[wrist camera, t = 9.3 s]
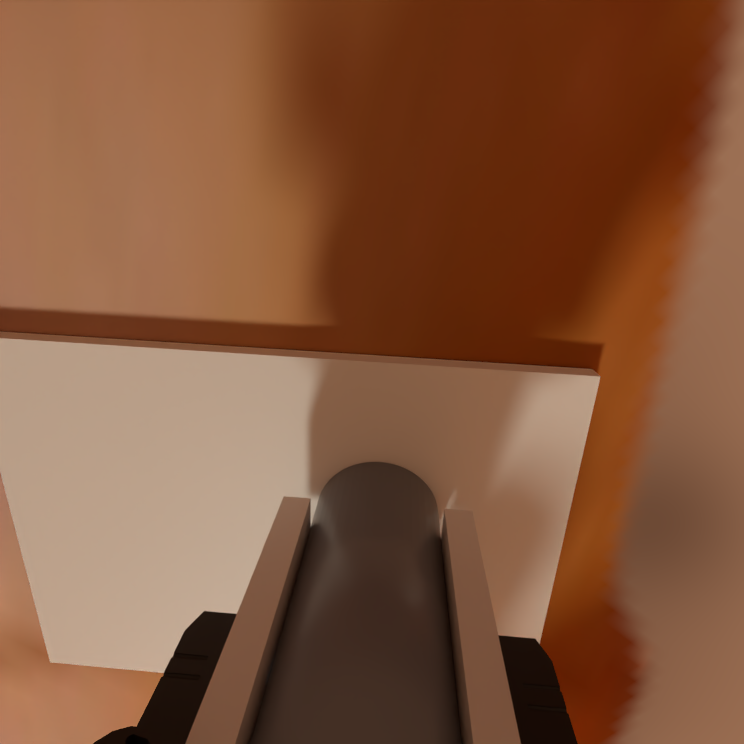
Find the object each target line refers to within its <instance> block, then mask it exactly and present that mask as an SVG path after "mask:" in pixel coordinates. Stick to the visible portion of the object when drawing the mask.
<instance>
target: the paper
mask: <svg viewBox="0 0 744 744" xmlns="http://www.w3.org/2000/svg"><path fill="white" fill-rule="evenodd" d="M599 381H600V376H599V375H598V374H597V373H596V372H595V371H594V370H593V369H585V368H569V367H554V366H538V365H522V364H506V363H491V362H475V361H459V360H443V359H427V358H412V357H396V356H380V355H364V354H348V353H333V352H317V351H301V350H285V349H269V348H254V347H238V346H222V345H206V344H190V343H175V342H159V341H143V340H127V339H111V338H96V337H80V336H64V335H48V334H32V333H17V332H1V331H0V473H1V477H2V480H3V484H4V488H5V492H6V496H7V500H8V503H9V507H10V511H11V515H12V519H13V522H14V526H15V530H16V534H17V538H18V542H19V545H20V549H21V553H22V557H23V561H24V564H25V568H26V572H27V576H28V580H29V584H30V587H31V591H32V595H33V599H34V603H35V606H36V610H37V614H38V618H39V622H40V625H41V629H42V633H43V637H44V641H45V645H46V648H47V652H48V656H49V660H50V662H53V663H64V664H74V665H85V666H96V667H106V668H117V669H128V670H138V671H149V672H160V673H164V671H165V669H166V667H167V665H168V663H169V661H170V659H171V657H173V655H174V651H175V649H176V647H177V645H178V643H179V641H180V639H181V637H182V635H183V633H184V631H185V630H186V629H187V628H188V627H189V626H190V625H191V624H192V623H193V622H194V621H195V620H196V619H197V618H198V617H199V616H200V615H201V614H202V613H203V612H204V611H210V612H221V613H233V614H237V612H238V610H239V607H240V605H241V602H242V600H243V597H244V595H245V592H246V590H247V587H248V585H249V582H250V580H251V577H252V575H253V572H254V570H255V567H256V565H257V562H258V560H259V557H260V555H261V552H262V550H263V547H264V545H265V542H266V539H267V537H268V534H269V532H270V529H271V527H272V524H273V522H274V519H275V517H276V514H277V512H278V509H279V507H280V504H281V502H282V499H283V497H284V496H286V497H299V498H311V524H312V521H313V517H314V514H315V510H316V506H317V503H318V499H319V496H320V494H321V491H322V490H323V488H324V486H325V485H326V484H327V482H328V481H329V480H330V479H331V478H332V477H333V476H334V475H336V474H337V473H339V472H340V471H342V470H343V469H345V468H347V467H350V466H353V465H355V464H360V463H365V462H385V463H390V464H395V465H398V466H401V467H403V468H405V469H407V470H409V471H411V472H413V473H414V474H416V475H417V476H418V477H420V478H421V479H422V480H423V481H424V482H425V483H426V484H427V486H428V487H429V488H430V490H431V491H432V493H433V495H434V497H435V499H436V503H437V507H438V515H439V524H440V534H442V525H443V517H444V509H457V510H470V511H472V512H473V517H474V522H475V527H476V531H477V536H478V541H479V546H480V550H481V555H482V560H483V565H484V570H485V574H486V579H487V584H488V589H489V593H490V598H491V603H492V608H493V613H494V617H495V622H496V627H497V632H498V635H500V636H512V637H523V638H535V639H536V640H537V642H538V643H539V644H540V640H541V636H542V631H543V627H544V622H545V618H546V614H547V609H548V605H549V600H550V596H551V592H552V587H553V583H554V579H555V574H556V570H557V565H558V561H559V557H560V552H561V548H562V543H563V539H564V535H565V530H566V526H567V521H568V517H569V513H570V508H571V504H572V499H573V495H574V491H575V486H576V482H577V477H578V473H579V469H580V464H581V460H582V455H583V451H584V447H585V442H586V438H587V433H588V429H589V425H590V420H591V416H592V411H593V407H594V403H595V398H596V394H597V390H598V385H599Z"/></svg>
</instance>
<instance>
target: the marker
mask: <svg viewBox="0 0 744 744" xmlns="http://www.w3.org/2000/svg"><path fill="white" fill-rule="evenodd" d="M250 744H462V739H461V729H460V720H459V710H458V700H457V691H456V681H455V671H454V662H453V652H452V642H451V632H450V623H449V613H448V603H447V594H446V584H445V574H444V565H443V555H442V545H441V534H440V524H439V515H438V507H437V503H436V499H435V497H434V495H433V493H432V491H431V490H430V488H429V487H428V486H427V484H426V483H425V482H424V481H423V480H422V479H421V478H420V477H418V476H417V475H416V474H414V473H413V472H411V471H409V470H407V469H405V468H403V467H401V466H398V465H395V464H390V463H385V462H365V463H360V464H355V465H353V466H350V467H347V468H345V469H343V470H342V471H340V472H339V473H337V474H336V475H334V476H333V477H332V478H331V479H330V480H329V481H328V482H327V484H326V485H325V486H324V488H323V490H322V491H321V494H320V496H319V499H318V503H317V506H316V510H315V514H314V517H313V521H312V524H311V528H310V531H309V535H308V539H307V542H306V546H305V549H304V553H303V556H302V560H301V563H300V567H299V570H298V574H297V578H296V581H295V585H294V588H293V592H292V595H291V599H290V602H289V606H288V609H287V613H286V617H285V620H284V624H283V627H282V631H281V634H280V638H279V641H278V645H277V648H276V652H275V656H274V659H273V663H272V666H271V670H270V673H269V677H268V680H267V684H266V687H265V691H264V695H263V698H262V702H261V705H260V709H259V712H258V716H257V719H256V723H255V726H254V730H253V734H252V737H251V741H250Z"/></svg>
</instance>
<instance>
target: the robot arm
mask: <svg viewBox="0 0 744 744" xmlns="http://www.w3.org/2000/svg"><path fill="white" fill-rule="evenodd" d="M310 528H311V498H299V497H286V496H284V497H283V499H282V502H281V504H280V507H279V509H278V512H277V514H276V517H275V519H274V522H273V524H272V527H271V529H270V532H269V534H268V537H267V539H266V542H265V545H264V547H263V550H262V552H261V555H260V557H259V560H258V562H257V565H256V567H255V570H254V572H253V575H252V577H251V580H250V582H249V585H248V587H247V590H246V592H245V595H244V597H243V600H242V602H241V605H240V607H239V610H238V612H237V614H233V613H221V612H210V611H204V612H203V613H202V614H201V615H200V616H199V617H198V618H197V619H196V620H195V621H194V622H193V623H192V624H191V625H190V626H189V627H188V628H187V629H186V630H185V631H184V633H183V635H182V637H181V639H180V641H179V643H178V645H177V647H176V649H175V651H174V655H173V657H171V659H170V661H169V663H168V665H167V667H166V669H165V671H164V676H163V677H161V679H160V681H159V683H158V685H157V687H156V689H155V691H154V693H153V695H152V697H151V699H150V701H149V703H148V705H147V707H146V709H145V711H144V713H143V715H142V717H141V719H140V721H139V723H138V725H137V727H133V726H130V727H126V728H123V729H119V730H115V731H112V732H111V733H109V734H108V735H106V736H104V737H103V738H101V739H99V740H98V741H96V742H95V743H94V744H250V741H251V737H252V734H253V730H254V726H255V723H256V719H257V716H258V712H259V709H260V705H261V702H262V698H263V695H264V691H265V687H266V684H267V680H268V677H269V673H270V670H271V666H272V663H273V659H274V656H275V652H276V648H277V645H278V641H279V638H280V634H281V631H282V627H283V624H284V620H285V617H286V613H287V609H288V606H289V602H290V599H291V595H292V592H293V588H294V585H295V581H296V578H297V574H298V570H299V567H300V563H301V560H302V556H303V553H304V549H305V546H306V542H307V539H308V535H309V531H310ZM441 545H442V555H443V565H444V574H445V584H446V594H447V603H448V613H449V623H450V632H451V642H452V652H453V662H454V671H455V681H456V691H457V700H458V710H459V720H460V729H461V739H462V744H577V741H576V737H575V734H574V731H573V728H572V725H571V721H570V718H569V715H568V714H567V712H566V705H565V702H564V699H563V696H562V692H560V686H559V683H558V680H557V676H556V673H555V670H554V667H553V664H552V661H551V659H550V658H549V657H548V655H547V654H546V653H545V651H544V650H543V648H542V647H541V646H540V644H539V643H538V642H537V640H536V639H535V638H523V637H512V636H500V635H498V632H497V627H496V622H495V617H494V613H493V608H492V603H491V598H490V593H489V589H488V584H487V579H486V574H485V570H484V565H483V560H482V555H481V550H480V546H479V541H478V536H477V531H476V527H475V522H474V517H473V512H472V511H470V510H457V509H444V517H443V525H442V534H441Z"/></svg>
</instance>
